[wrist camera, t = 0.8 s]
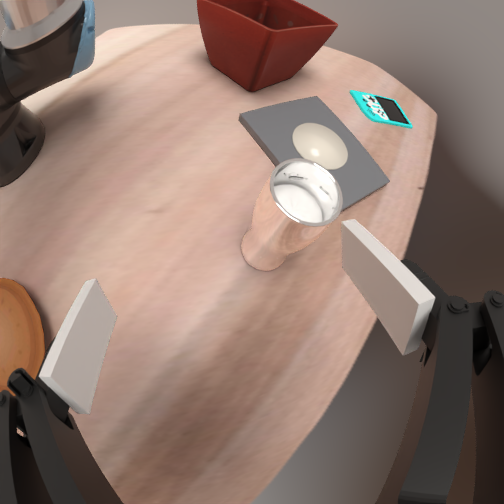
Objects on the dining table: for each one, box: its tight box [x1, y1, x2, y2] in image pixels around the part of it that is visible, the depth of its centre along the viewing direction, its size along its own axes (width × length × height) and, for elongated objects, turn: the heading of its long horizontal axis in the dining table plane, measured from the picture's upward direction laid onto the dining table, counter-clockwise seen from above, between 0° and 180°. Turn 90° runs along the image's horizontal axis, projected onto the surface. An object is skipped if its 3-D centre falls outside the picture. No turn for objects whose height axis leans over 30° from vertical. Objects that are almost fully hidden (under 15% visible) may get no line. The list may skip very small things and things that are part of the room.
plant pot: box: [197, 0, 338, 92], centre depth 40 cm, size 19×19×17 cm
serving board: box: [239, 96, 390, 212], centre depth 42 cm, size 22×18×2 cm
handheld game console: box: [350, 90, 413, 128], centre depth 53 cm, size 10×16×1 cm, turn 104°
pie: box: [0, 278, 45, 396], centre depth 22 cm, size 16×16×5 cm
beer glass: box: [241, 158, 343, 271], centre depth 29 cm, size 7×7×15 cm
